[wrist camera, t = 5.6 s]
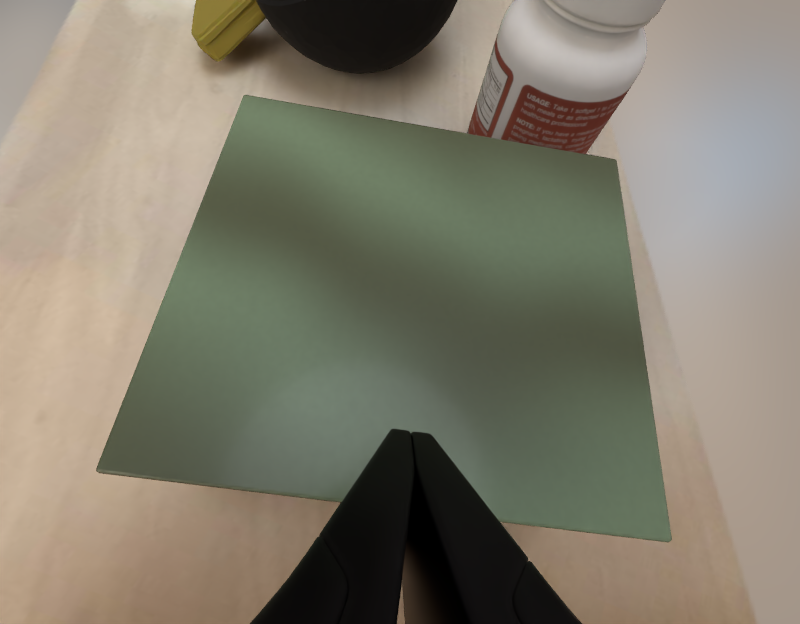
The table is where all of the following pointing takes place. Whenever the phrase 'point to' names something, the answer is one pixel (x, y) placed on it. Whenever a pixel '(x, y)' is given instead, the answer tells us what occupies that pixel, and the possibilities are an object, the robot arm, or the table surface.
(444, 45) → the table surface
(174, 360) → the lid
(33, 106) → the table surface
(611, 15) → the pill bottle
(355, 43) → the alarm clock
